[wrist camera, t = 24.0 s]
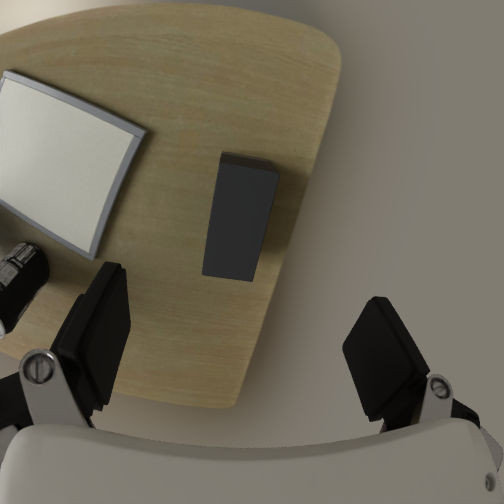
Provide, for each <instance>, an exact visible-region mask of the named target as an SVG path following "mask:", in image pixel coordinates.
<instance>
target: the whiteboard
mask: <svg viewBox="0 0 504 504" xmlns="http://www.w3.org/2000/svg"><path fill="white" fill-rule="evenodd" d="M147 132H148V130H146V129H144V128H142V127H140V126H138V125H136V124H134V123H132V122H130V121H128V120H126V119H124V118H121V117H119V116H117V115H115V114H113V113H111V112H109V111H107V110H105V109H103V108H100V107H98V106H96V105H94V104H92V103H89V102H87V101H85V100H83V99H80V98H78V97H76V96H74V95H71V94H69V93H67V92H64V91H62V90H60V89H57V88H55V87H52V86H50V85H47V84H45V83H42V82H40V81H37V80H35V79H32V78H30V77H27V76H24V75H22V74H19V73H16V72H13V71H11V70H5V71H4V73H3V77H2V79H1V82H0V204H1V205H2V206H3V207H5V208H6V209H8V210H9V211H11V212H12V213H14V214H15V215H17V216H18V217H20V218H21V219H23V220H24V221H26V222H27V223H29V224H30V225H32V226H33V227H35V228H37V229H38V230H40V231H41V232H43V233H45V234H46V235H48V236H50V237H51V238H53V239H54V240H56V241H58V242H59V243H61V244H63V245H65V246H66V247H68V248H70V249H71V250H73V251H75V252H77V253H78V254H80V255H82V256H84V257H86V258H87V259H89V260H91V261H94V259H95V258H96V254H97V251H98V248H99V245H100V242H101V239H102V236H103V233H104V230H105V228H106V225H107V222H108V219H109V217H110V214H111V211H112V209H113V206H114V204H115V201H116V199H117V196H118V194H119V191H120V189H121V186H122V184H123V182H124V179H125V177H126V175H127V173H128V170H129V168H130V166H131V164H132V162H133V160H134V158H135V155H136V153H137V151H138V149H139V147H140V145H141V143H142V141H143V139H144V137H145V135H146V133H147Z"/></svg>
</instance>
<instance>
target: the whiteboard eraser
mask: <svg viewBox="0 0 504 504" xmlns="http://www.w3.org/2000/svg"><path fill="white" fill-rule="evenodd" d="M279 176H280V173H279V172H278V170H277V169H276V168H275V166H274V165H273V164H272V163H271V161H270V160H265V159H260V158H255V157H250V156H245V155H239V154H234V153H228V152H222V153H221V158H220V163H219V168H218V173H217V179H216V185H215V190H214V196H213V202H212V208H211V214H210V221H209V227H208V234H207V240H206V247H205V254H204V261H203V268H202V275H205V276H212V277H220V278H227V279H234V280H242V281H250V282H253V278H254V274H255V270H256V267H257V263H258V259H259V255H260V251H261V247H262V243H263V239H264V235H265V231H266V227H267V224H268V220H269V216H270V212H271V208H272V204H273V200H274V196H275V192H276V188H277V184H278V180H279Z"/></svg>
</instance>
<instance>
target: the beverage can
mask: <svg viewBox="0 0 504 504" xmlns="http://www.w3.org/2000/svg"><path fill="white" fill-rule="evenodd" d="M48 278H49V268H48V262H47V260H46V258H45V256H44V254H43V253H42V251H41V250H40V249H39V248H38V247H36V246H35V245H33V244H29V243H20V244H18V245H17V246H16V247H15V248H14V249H13V250H12V251H11V252H10V253H9V254H8V255H7V256H6V257H5V258H4V259H3V260H2V261H1V262H0V339H2V338H4V337H5V334H8V333H10V332H12V331H13V329H14V327H15V326H16V324H17V323H18V321H19V320H20V318H21V317H22V315H23V314H24V312H25V311H26V309H27V308H28V307H29V305H30V304H31V302H32V301H33V299H34V298H35V297H36V295H37V294H38V293H39V291H40V290H41V289H42V287H43V286H44V285H45V283H46V282H47V280H48Z"/></svg>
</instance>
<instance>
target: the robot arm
mask: <svg viewBox="0 0 504 504" xmlns="http://www.w3.org/2000/svg"><path fill="white" fill-rule="evenodd" d="M130 327H131V320H130V312H129V302H128V291H127V278H126V270H125V269H124V268H122V267H121V264H119V263H113V262H107V261H106V262H104V264H103V265H102V267H101V268H100V270H99V272H98V273H97V275H96V277H95V278H94V280H93V281H92V283H91V285H90V286H89V288H88V290H87V292H86V293H85V294H80V295H79V296H78V298H77V299H76V301H75V303H74V305H73V306H72V308H71V310H70V312H69V313H68V315H67V317H66V319H65V321H64V323H63V324H62V326H61V328H60V330H59V332H58V334H57V336H56V338H55V340H54V342H53V344H52V346H51V348H50V350H47V349H40V348H39V349H34V350H32V351H30V352H28V353H27V354H26V355H25V356H23V358H22V360H21V362H20V365H19V372H17V373H15V374H12V375H9V376H8V377H5V378H2V379H0V465H1V463H2V462H3V463H2V466H1V470H0V504H504V496H503V491H502V487H501V484H500V480H499V476H498V470H499V468H500V465H501V462H502V459H503V451H502V448H501V446H500V445H499V444H498V443H497V442H496V441H495V439H494V438H493V437H492V436H491V435H489V433H488V432H487V431H486V430H485V429H484V428H483V427H482V426H481V427H480V421H479V417H478V415H477V413H476V412H474V411H473V410H472V409H470V408H468V407H467V406H465V405H463V404H462V403H460V402H459V401H457V400H455V399H454V398H453V390H452V387H451V385H450V383H449V382H448V380H447V379H446V378H444V377H443V376H441V375H438V374H433V375H431V376H430V377H429V378H428V379H427V377H426V375H427V374H428V373H429V372H430V369H429V367H428V365H427V364H426V362H425V360H424V358H423V356H422V354H421V353H420V351H419V349H418V347H417V346H416V344H415V342H414V340H413V339H412V337H411V335H410V334H409V332H408V330H407V329H406V327H405V326H404V324H403V322H402V320H401V319H400V317H399V315H398V314H397V312H396V311H395V309H394V307H393V306H392V304H391V303H390V301H389V300H388V299H387V298H386V297H378V296H375V297H373V298H372V299H371V300H369V301H368V302H367V304H366V306H365V308H364V309H363V311H362V313H361V315H360V316H359V318H358V320H357V321H356V323H355V325H354V327H353V328H352V330H351V332H350V333H349V335H348V336H347V338H346V340H345V341H344V343H343V347H342V350H343V353H344V356H345V359H346V361H347V364H348V367H349V370H350V372H351V375H352V378H353V381H354V384H355V387H356V389H357V392H358V395H359V398H360V401H361V404H362V407H363V410H364V413H365V415H367V416H368V418H369V421H370V422H373V421H378V420H381V419H382V418H383V419H384V423H383V425H382V428H381V430H380V433H379V434H376V435H371V436H366V437H361V438H356V439H351V440H344V441H338V442H332V443H324V444H316V445H307V446H294V447H281V448H280V447H279V448H221V447H205V446H194V445H185V444H177V443H169V442H162V441H155V440H149V439H143V438H138V437H133V436H128V435H123V434H118V433H114V432H109V431H103V430H99V429H96V428H95V426H94V424H93V423H92V421H91V419H90V416H92V414H93V410H94V409H95V410H98V411H102V409H103V405H108V403H109V400H110V397H111V393H112V389H113V385H114V382H115V378H116V374H117V371H118V367H119V364H120V361H121V357H122V354H123V351H124V348H125V344H126V341H127V338H128V335H129V332H130Z"/></svg>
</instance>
